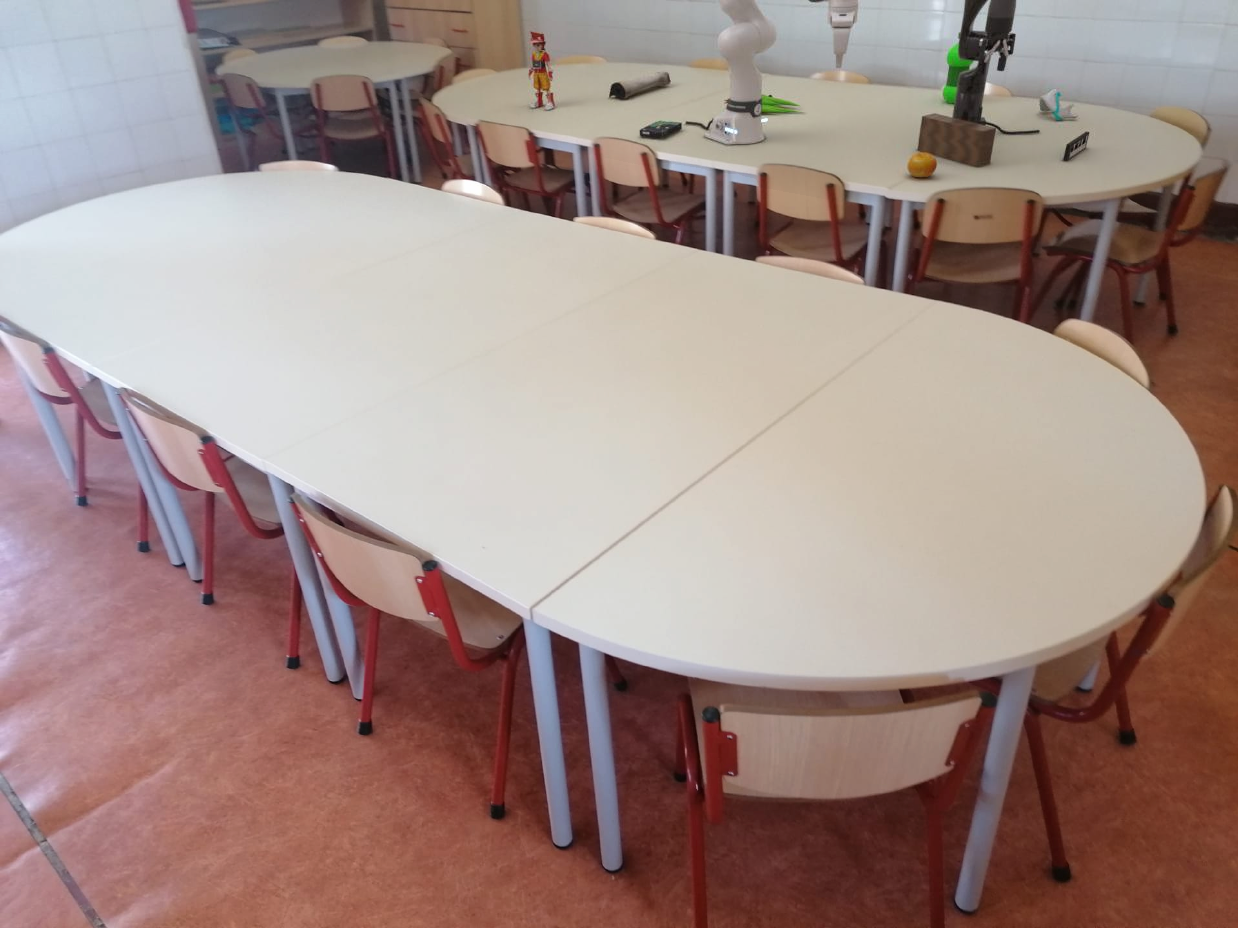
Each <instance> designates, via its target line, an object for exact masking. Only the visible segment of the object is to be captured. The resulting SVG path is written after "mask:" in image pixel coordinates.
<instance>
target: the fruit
mask: <svg viewBox="0 0 1238 928" xmlns="http://www.w3.org/2000/svg"><path fill="white" fill-rule="evenodd" d="M937 166H938V162H937V159H936V157H935V155H933V154H930V153H926V152H922V151H920V152H916V153H915V154H913V155H912V156H911V157H910V158H909V160H908V162H907V171H908V172H909V174H910V175H911V176H912V177H914V178H922V179H923V178H927V177H930V176H931V175H933V173H934V172H935V171H936V169H937Z"/></svg>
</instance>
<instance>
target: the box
mask: <svg viewBox="0 0 1238 928" xmlns="http://www.w3.org/2000/svg"><path fill="white" fill-rule="evenodd" d="M996 131H997V128H995V127H993V126H989V125H981V124H977V123H973V122H969V121H965V120H961V119H957V118H952V116H948V115H945V114H939V113H935V112H934V113H930V114H926V115H922V116H921V122H920V128H919V134H918V135H919V136H918V143H917V151H920V152H926V153H930V154H931V155H933V156H936V157H940V158H943V159H947V160H951V161H954V162H957V163H961V164H964V165H967V166H972V167H976V168H978V167H984V166H987V165H990V164H991V160H992V153H993V148H994V143H995V138H996V133H997V132H996Z"/></svg>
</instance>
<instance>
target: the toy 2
mask: <svg viewBox="0 0 1238 928" xmlns="http://www.w3.org/2000/svg"><path fill="white" fill-rule="evenodd" d="M761 97H762V111H761V113H772V114H773V113H776V114H777V113H778V114H779V113H797V114H798V113H804V112H803V111H798V110H794V109H788V108H783V107H780V106H790V107H801V105H799V104H797V103H795V102H791V101H788V100H786V99H785V100H784V99H782V98H777V97H773V95H772V94H769V95H766V94H764V93H763V94H762V93H761Z"/></svg>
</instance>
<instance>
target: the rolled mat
mask: <svg viewBox="0 0 1238 928" xmlns="http://www.w3.org/2000/svg"><path fill="white" fill-rule="evenodd" d="M671 83H672V81H671V77H670V74H669V72H668V71H658V72H654V73H649V74H645V75H640V76H637V77H633V78H628V79H623V80H620V81H616V82H613V83H612V84H611V85H610V89H609V95H608V97H609V98H611V97H616V99H620V100H622V101H623V100H626V99H627V98H629V97H630V96H632V95H635V94H636V93H638V92H640V91H643V90H644V89H647V88H650V87H655V86H658V87H659V86H661V87H665V86H669V85H670V84H671Z"/></svg>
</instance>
